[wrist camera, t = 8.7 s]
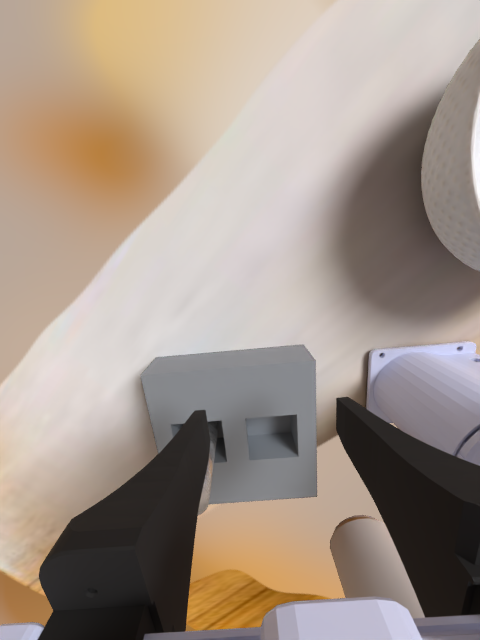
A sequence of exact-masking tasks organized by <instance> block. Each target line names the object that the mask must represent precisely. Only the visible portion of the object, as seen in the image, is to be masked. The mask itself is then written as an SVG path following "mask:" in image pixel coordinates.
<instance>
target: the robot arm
mask: <svg viewBox="0 0 480 640" xmlns="http://www.w3.org/2000/svg"><path fill="white" fill-rule="evenodd" d="M458 347H459V348H458ZM457 348H458V349H457ZM475 351H476V344H475V343H473V342H470V341H466V342H455V343H443V344H431V345H420V346H408V347H397V348H385V349H374V350H372V351H371V352H370V353H369V365H368V383H367V402H366V408H364V407H363V406H361V405H360V404H358V403H357V402H355V401H353V400H352V399H350V398H349V397H343V398H337V408H336V430H337V433H338V435H339V437H340V440H341V442H342V444H343V446H344V449H345V450H346V452H347V454H348V456H349V457H350V459H351V461H352V463H353V465H354V466H355V468H356V470H357V471H358V473H359V475H360V477H361V478H362V480H363V482H364V484H365V485H366V487H367V489H368V491H369V492H370V494H371V496H372V498H373V500H374V502H375V504H376V506H377V508H378V510H379V512H380V514H381V516H382V518H383V521H384V523H385V525H386V527H387V529H388V532H389V534H390V536H391V538H392V540H393V543H394V545H395V547H396V549H397V552H398V554H399V556H400V558H401V561H402V563H403V565H404V568H405V570H406V572H407V575H408V577H409V580H410V582H411V584H412V587H413V589H414V591H415V594H416V596H417V599H418V601H419V604H420V606H421V609H422V611H423V614H424V616H425V618H412V617H411V615H410V613H409V610H408V609H407V608H405V607H404V606H402V605H401V604H399V603H398V602H396V601H394V600H393V599H391V598H384V597H375V596H373V597H356V598H340V599H324V600H307V601H293V602H289V603H284V604H280V605H277V606H276V607H274V608H273V609H272V610H270V611H269V612H268V613H266V615H265V616H264V618H263V622H262V625H261V627H255V628H237V629H220V630H203V631H186V632H185V630H186V618H187V606H188V596H189V586H190V576H191V566H192V556H193V548H194V538H195V531H196V523H197V515H198V509H199V504H200V499H201V494H202V490H203V485H204V480H205V475H206V471H207V466H208V461H209V452H210V441H211V440H210V434H209V428H208V422H207V416H206V410H195V411H194V412H193V413H192V414H191V416H190V417H189V418H188V420H187V421H186V422H185V423H184V425H183V426H182V427H181V429H180V430H179V431H178V432H177V433H176V435H175V436H174V437H173V438H172V440H171V441H170V442H169V443H168V444H167V445H166V446H165V447H164V448H163V450H162V451H161V452H160V453H159V454H158V455H157V456H156V457H155V458H154V459H153V460H152V461H151V462H150V463H149V464H148V465H146V466H145V467H144V468H143V469H142V470H141V471H140V472H138V473H137V474H136V475H135V476H134V477H132V478H131V479H130V480H129V481H127V482H126V483H125V484H124V485H122V486H121V487H120V488H118V489H117V490H116V491H114V492H113V493H111V494H110V495H109V496H107V497H106V498H104V499H103V500H101V501H100V502H98V503H97V504H95V505H94V506H92V507H91V508H89V509H87V510H86V511H84V512H83V513H81V514H79V515H78V516H76V517H74V518H73V519H72V520H71V521H70V522H69V524H68V525H67V527H66V528H65V530H64V531H63V533H62V534H61V536H60V537H59V539H58V540H57V542H56V543H55V545H54V546H53V548H52V549H51V551H50V553H49V554H48V556H47V557H46V559H45V560H44V562H43V564H42V565H41V567H40V572H39V579H40V583H41V586H42V588H43V590H44V592H45V594H46V596H47V598H48V600H49V602H50V604H51V607H52V609H53V613H52V615H51V616H50V618H49V620H48V622H47V624H46V626H45V627H44V626H43V625H41V624H39V623H34V622H30V623H14V624H2V625H0V640H480V355H478V354H476V353H475ZM380 353H382V355H381V356H379V355H380ZM389 423H394V424H395V425H396V426H397V427H398V428H399V429H398V428H396V427H394V426H393V425H391V424H389Z"/></svg>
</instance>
